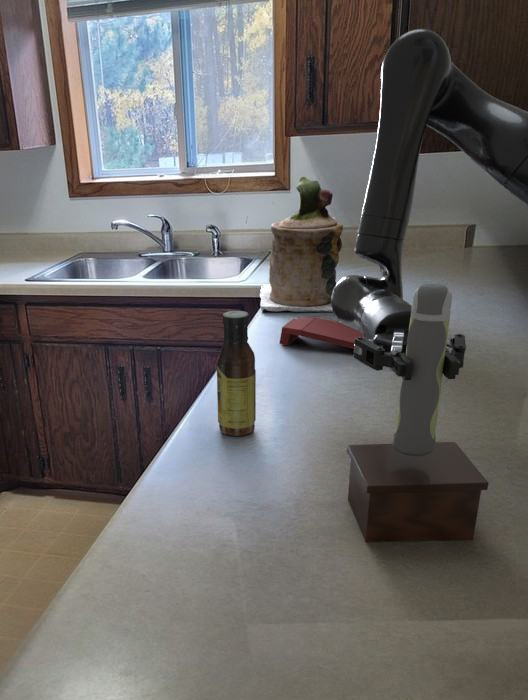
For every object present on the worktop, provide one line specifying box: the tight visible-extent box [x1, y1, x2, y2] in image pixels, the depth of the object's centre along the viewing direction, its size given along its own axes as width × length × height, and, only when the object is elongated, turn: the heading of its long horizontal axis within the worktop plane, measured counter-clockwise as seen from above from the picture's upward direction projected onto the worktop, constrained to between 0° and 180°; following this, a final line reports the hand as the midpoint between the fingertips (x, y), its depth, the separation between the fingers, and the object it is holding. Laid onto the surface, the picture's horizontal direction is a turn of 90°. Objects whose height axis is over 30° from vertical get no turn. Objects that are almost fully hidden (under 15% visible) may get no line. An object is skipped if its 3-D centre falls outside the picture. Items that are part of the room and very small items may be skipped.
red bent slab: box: [279, 316, 363, 350], centre depth 165 cm, size 12×5×25 cm
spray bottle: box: [392, 283, 453, 456], centre depth 86 cm, size 5×5×20 cm
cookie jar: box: [259, 176, 344, 313], centre depth 196 cm, size 25×25×32 cm
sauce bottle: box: [216, 310, 257, 437], centre depth 119 cm, size 7×6×20 cm
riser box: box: [346, 441, 489, 543], centre depth 93 cm, size 14×12×8 cm
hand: (431, 371), depth 83 cm, fingers closed on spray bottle, 4 cm apart
